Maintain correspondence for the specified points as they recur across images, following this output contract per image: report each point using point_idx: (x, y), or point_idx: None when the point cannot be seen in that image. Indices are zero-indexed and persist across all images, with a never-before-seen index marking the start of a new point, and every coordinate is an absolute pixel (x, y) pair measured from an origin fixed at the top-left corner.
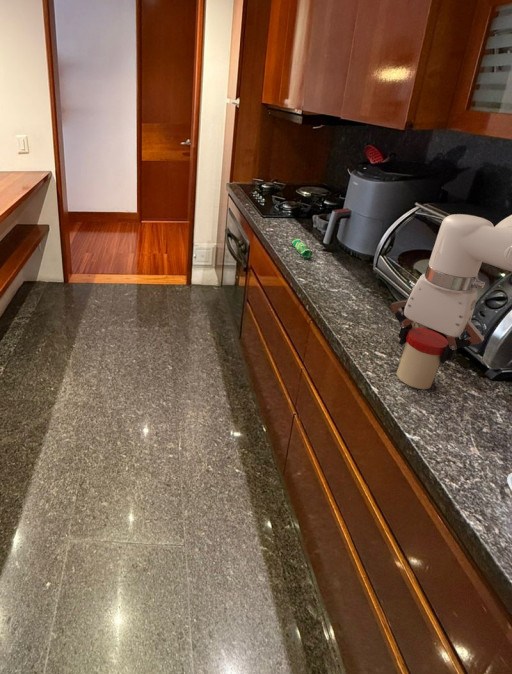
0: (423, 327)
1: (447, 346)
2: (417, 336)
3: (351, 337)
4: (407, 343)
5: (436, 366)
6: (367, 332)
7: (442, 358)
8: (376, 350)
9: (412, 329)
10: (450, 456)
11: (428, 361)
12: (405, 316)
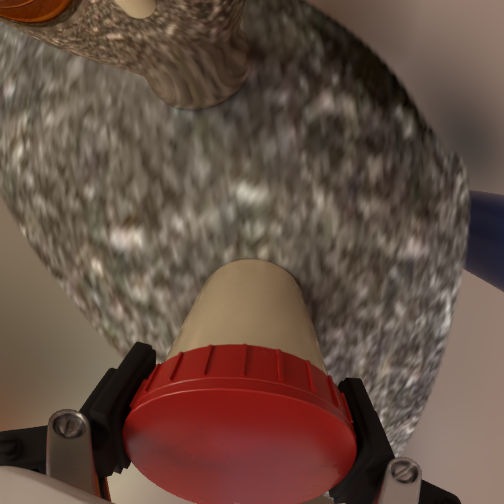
0: (193, 58)
1: (342, 496)
2: (187, 482)
3: (42, 206)
4: None
5: None
6: (64, 126)
7: None
8: (111, 222)
9: (132, 437)
10: None
11: None
12: (43, 469)
